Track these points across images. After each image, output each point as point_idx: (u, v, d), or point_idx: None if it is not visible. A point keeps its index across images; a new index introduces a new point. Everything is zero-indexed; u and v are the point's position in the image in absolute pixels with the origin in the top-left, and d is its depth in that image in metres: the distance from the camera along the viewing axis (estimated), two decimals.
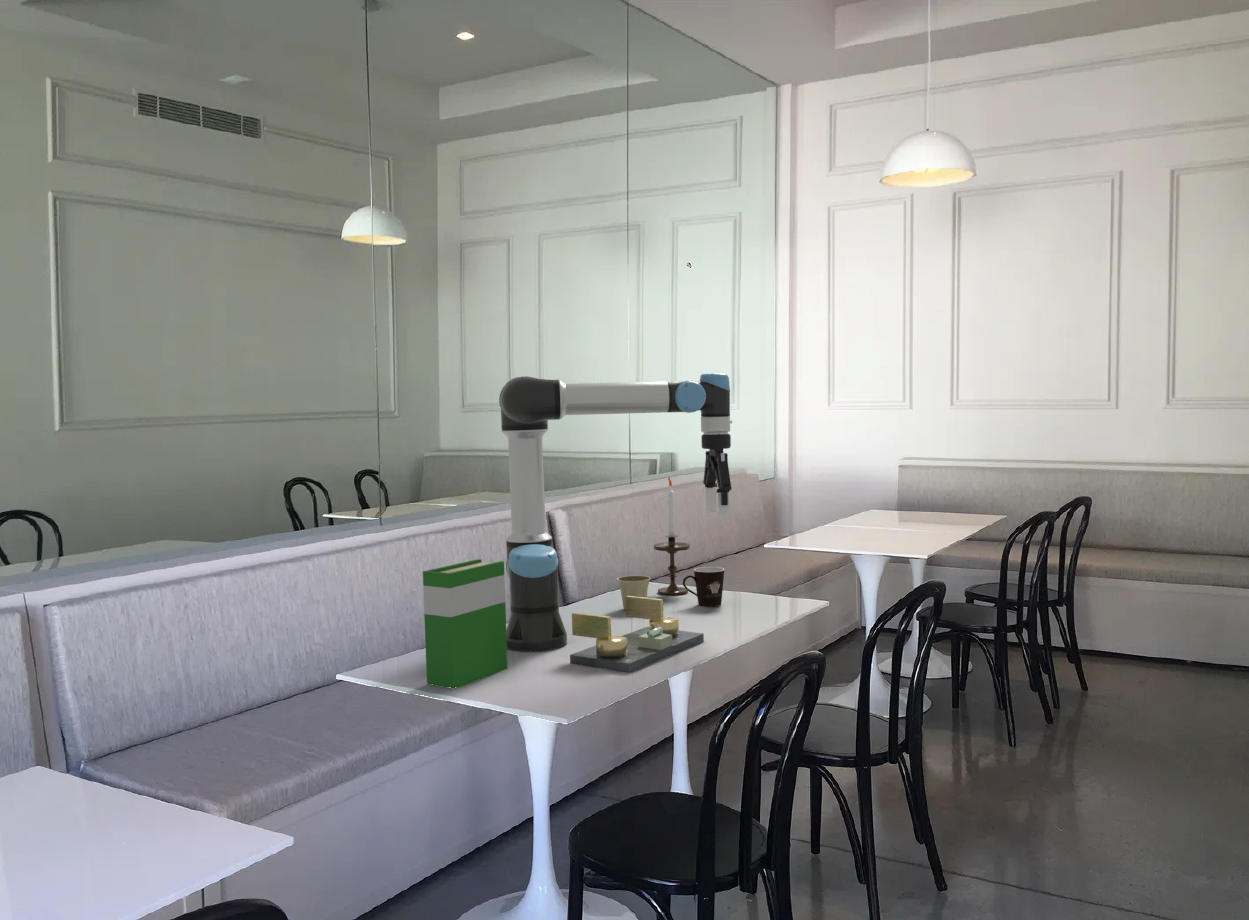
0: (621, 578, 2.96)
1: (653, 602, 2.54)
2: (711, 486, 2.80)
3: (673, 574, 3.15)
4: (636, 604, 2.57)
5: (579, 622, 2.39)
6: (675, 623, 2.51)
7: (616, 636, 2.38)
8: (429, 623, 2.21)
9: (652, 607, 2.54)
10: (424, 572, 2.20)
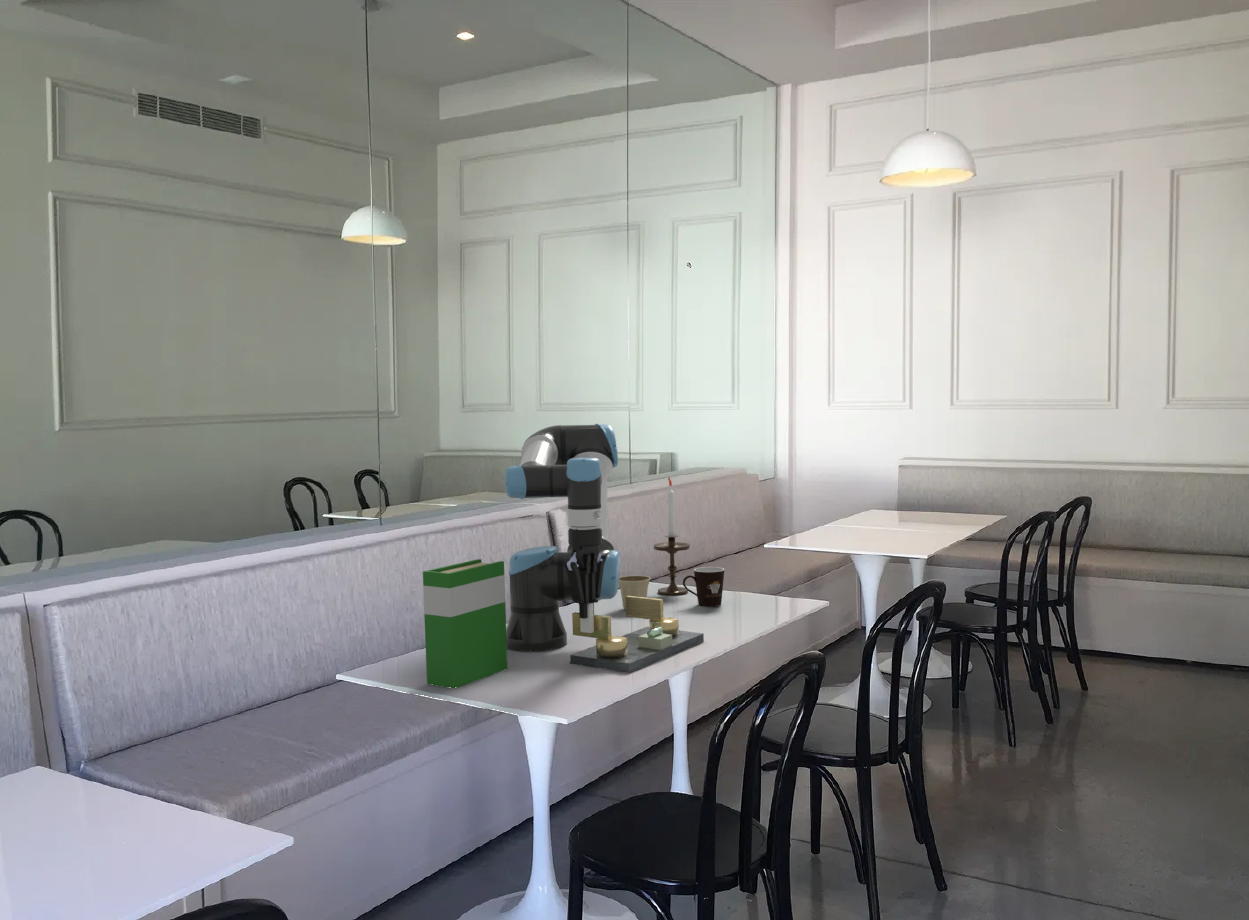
0: (621, 578, 2.96)
1: (653, 602, 2.54)
2: (588, 599, 2.36)
3: (673, 574, 3.15)
4: (636, 604, 2.57)
5: (579, 622, 2.39)
6: (675, 623, 2.51)
7: (616, 636, 2.38)
8: (429, 623, 2.21)
9: (652, 607, 2.54)
10: (424, 572, 2.20)
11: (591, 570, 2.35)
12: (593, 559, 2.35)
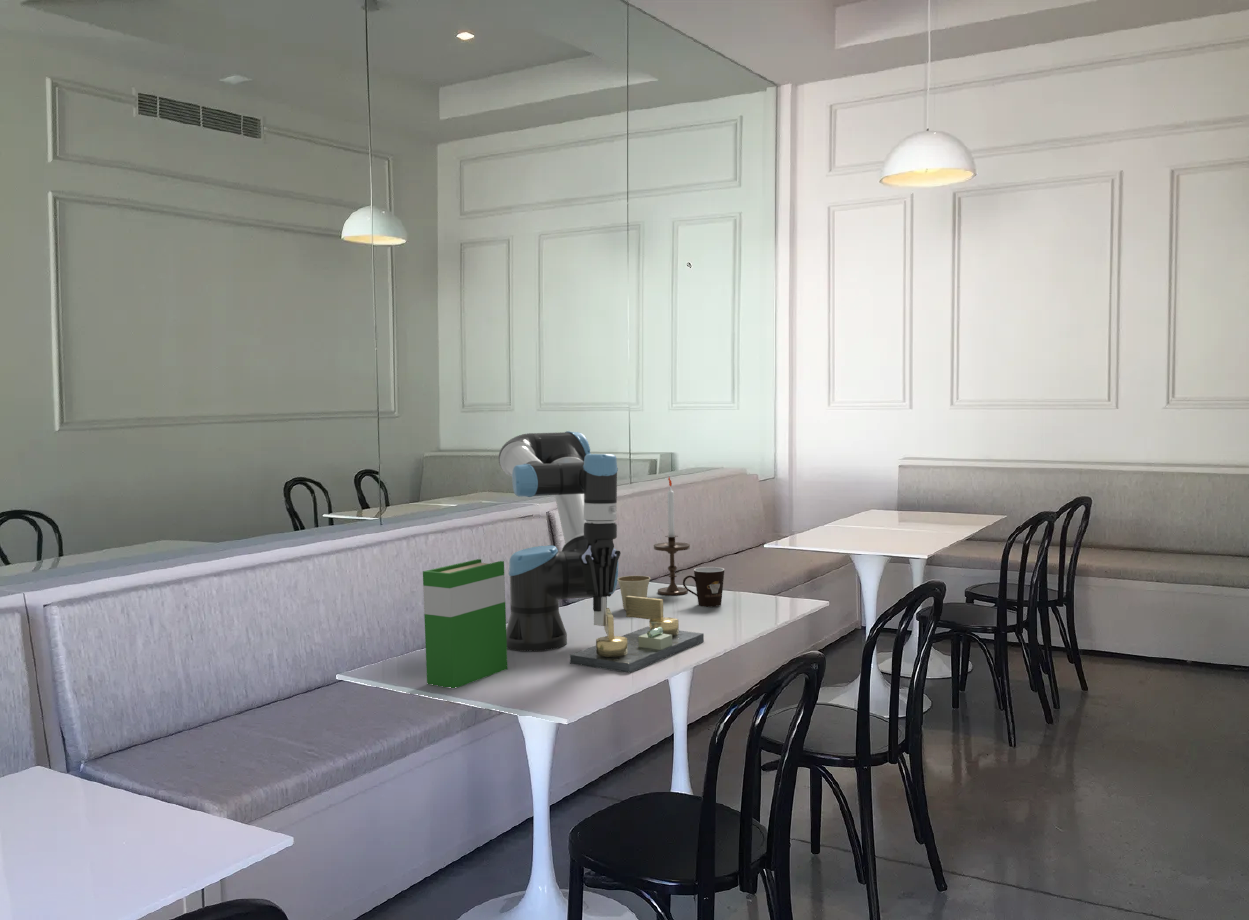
0: (621, 578, 2.96)
1: (653, 602, 2.54)
2: None
3: (673, 574, 3.15)
4: (636, 604, 2.57)
5: None
6: (675, 623, 2.51)
7: (624, 638, 2.36)
8: (429, 623, 2.21)
9: (652, 607, 2.54)
10: (424, 572, 2.20)
11: (605, 564, 2.40)
12: (607, 553, 2.39)
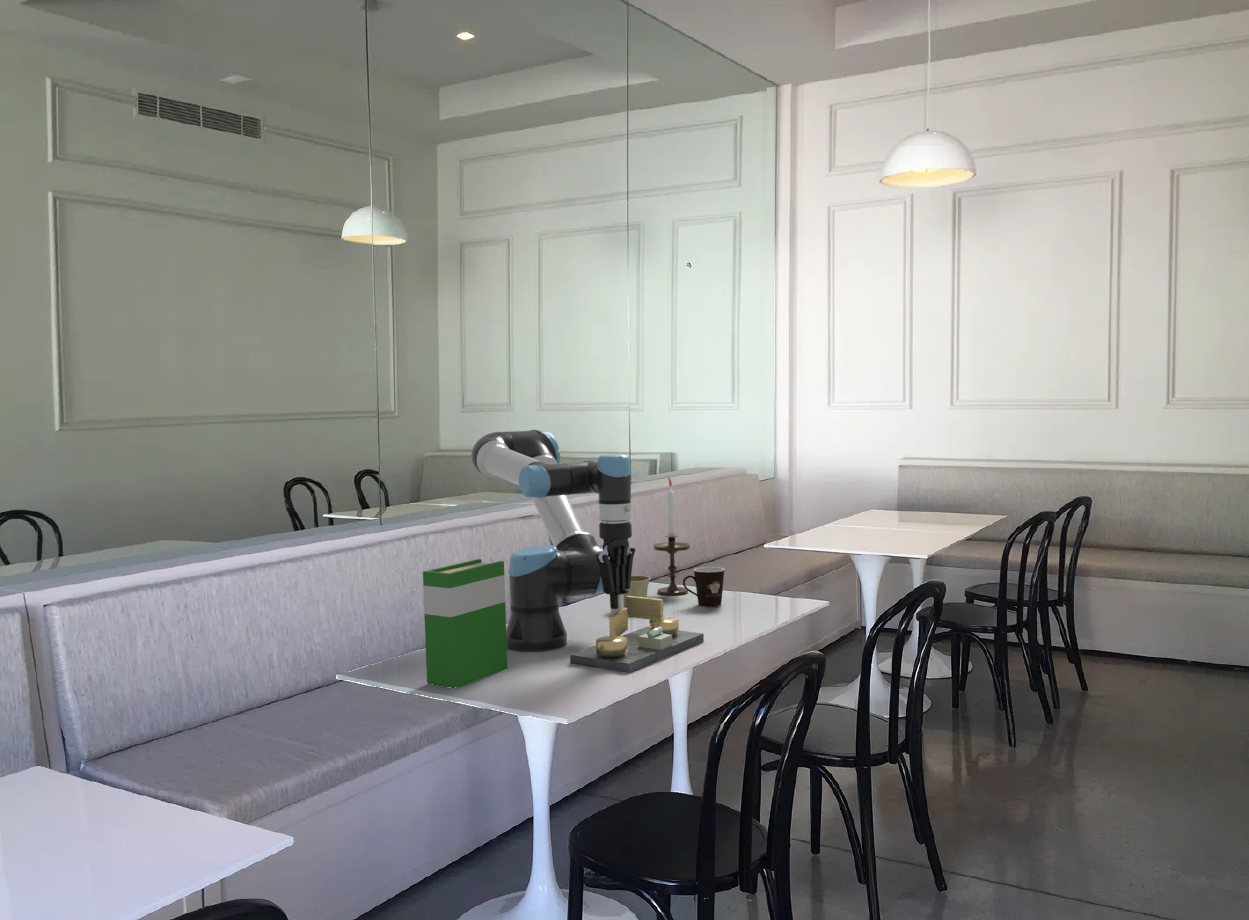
0: None
1: (653, 602, 2.54)
2: None
3: (673, 574, 3.15)
4: (636, 604, 2.57)
5: None
6: (675, 623, 2.51)
7: (625, 639, 2.35)
8: (429, 623, 2.21)
9: (652, 607, 2.54)
10: (424, 572, 2.20)
11: (621, 562, 2.45)
12: (623, 552, 2.45)
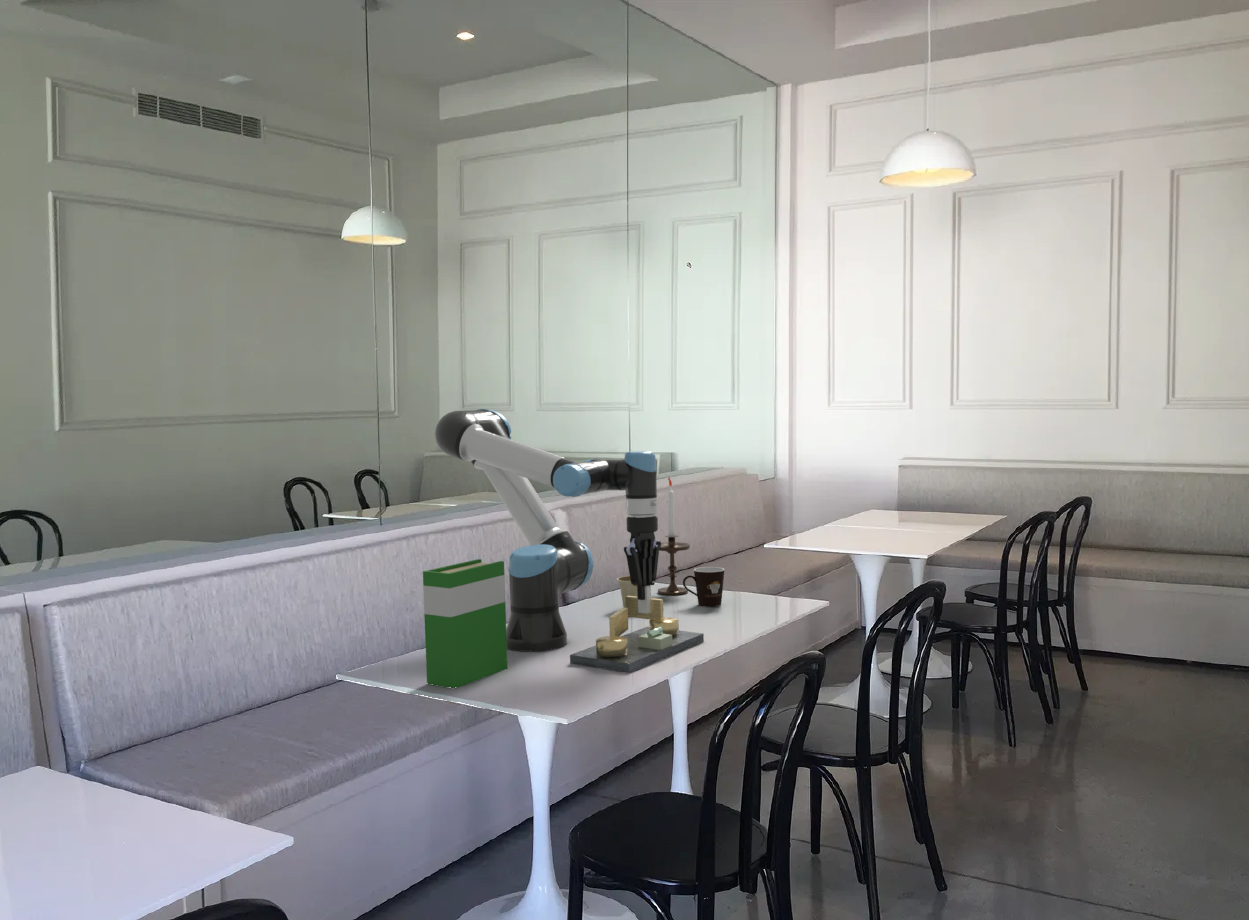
0: (621, 578, 2.96)
1: (653, 602, 2.54)
2: (645, 582, 2.55)
3: (673, 574, 3.15)
4: (636, 604, 2.57)
5: None
6: (675, 623, 2.51)
7: (625, 639, 2.35)
8: (429, 623, 2.21)
9: (652, 607, 2.54)
10: (424, 572, 2.20)
11: (648, 555, 2.54)
12: (650, 545, 2.54)
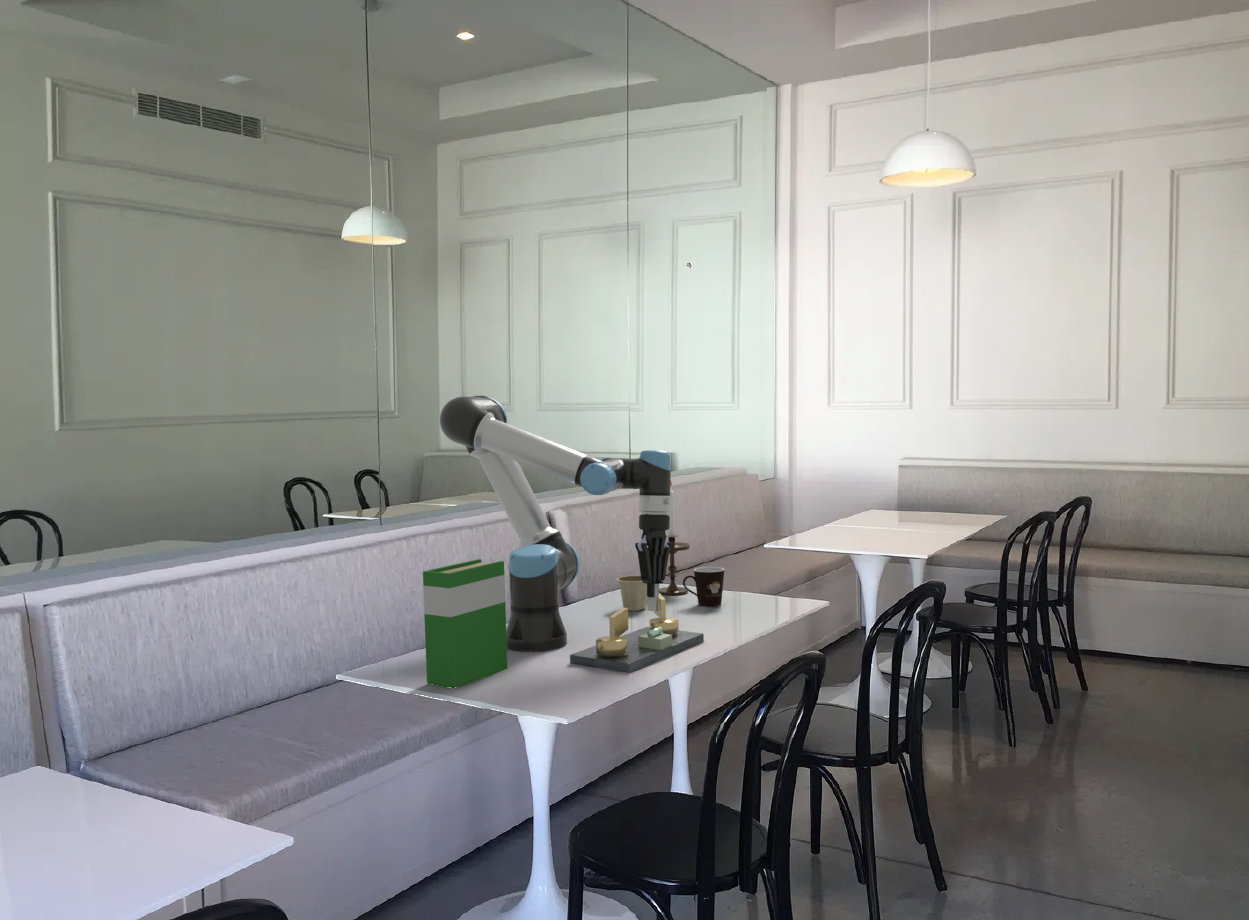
0: (621, 578, 2.96)
1: (659, 601, 2.56)
2: None
3: (673, 574, 3.15)
4: None
5: None
6: (665, 624, 2.50)
7: (625, 639, 2.35)
8: (429, 623, 2.21)
9: (659, 605, 2.56)
10: (424, 572, 2.20)
11: (658, 553, 2.57)
12: (661, 543, 2.57)
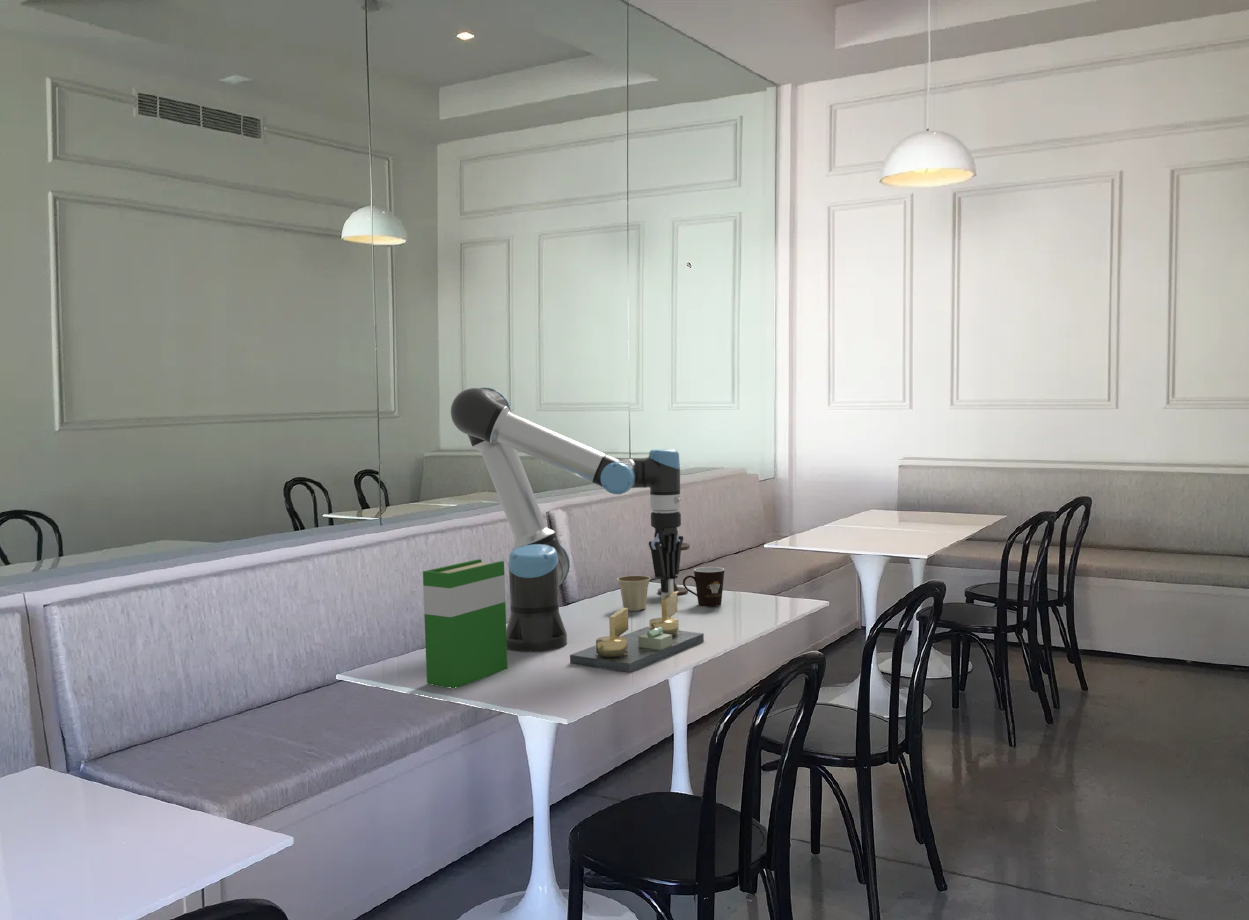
0: (621, 578, 2.96)
1: None
2: None
3: None
4: None
5: None
6: (658, 624, 2.50)
7: (625, 639, 2.35)
8: (429, 623, 2.21)
9: None
10: (424, 572, 2.20)
11: (671, 549, 2.63)
12: (673, 539, 2.63)
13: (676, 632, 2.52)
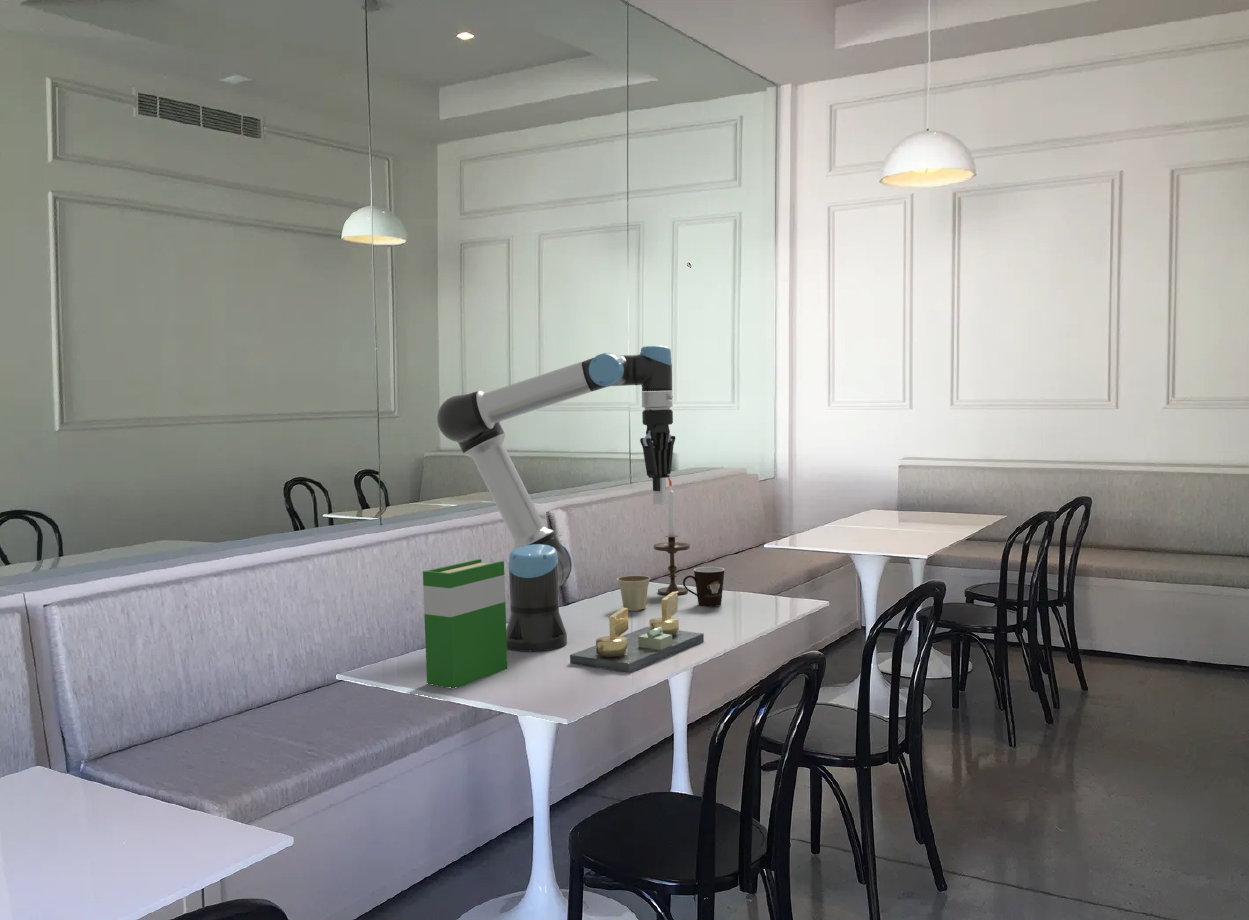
0: (621, 578, 2.96)
1: None
2: None
3: (673, 574, 3.15)
4: None
5: None
6: (658, 624, 2.50)
7: (625, 639, 2.35)
8: (429, 623, 2.21)
9: None
10: (424, 572, 2.20)
11: (663, 448, 2.61)
12: (665, 438, 2.60)
13: (676, 632, 2.52)
